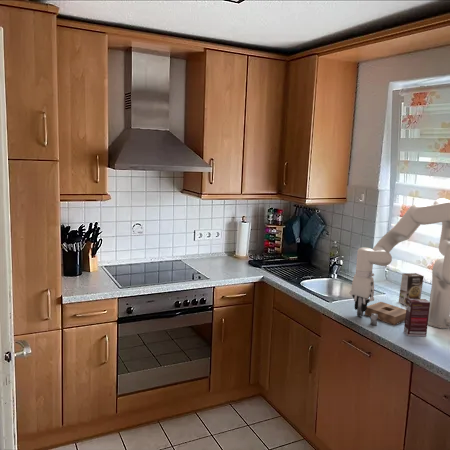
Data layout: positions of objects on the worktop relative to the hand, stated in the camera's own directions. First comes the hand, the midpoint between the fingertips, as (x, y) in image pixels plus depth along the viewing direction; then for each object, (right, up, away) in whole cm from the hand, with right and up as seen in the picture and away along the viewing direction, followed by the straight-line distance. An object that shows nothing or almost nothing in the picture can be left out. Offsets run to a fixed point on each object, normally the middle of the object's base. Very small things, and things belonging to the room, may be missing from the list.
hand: (360, 309), depth 227 cm
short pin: (+4, -5, -9) cm, 11 cm away
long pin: (0, -3, +1) cm, 3 cm away
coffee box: (+33, -1, +24) cm, 41 cm away
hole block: (+14, -4, +3) cm, 14 cm away
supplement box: (+19, -8, -17) cm, 27 cm away
